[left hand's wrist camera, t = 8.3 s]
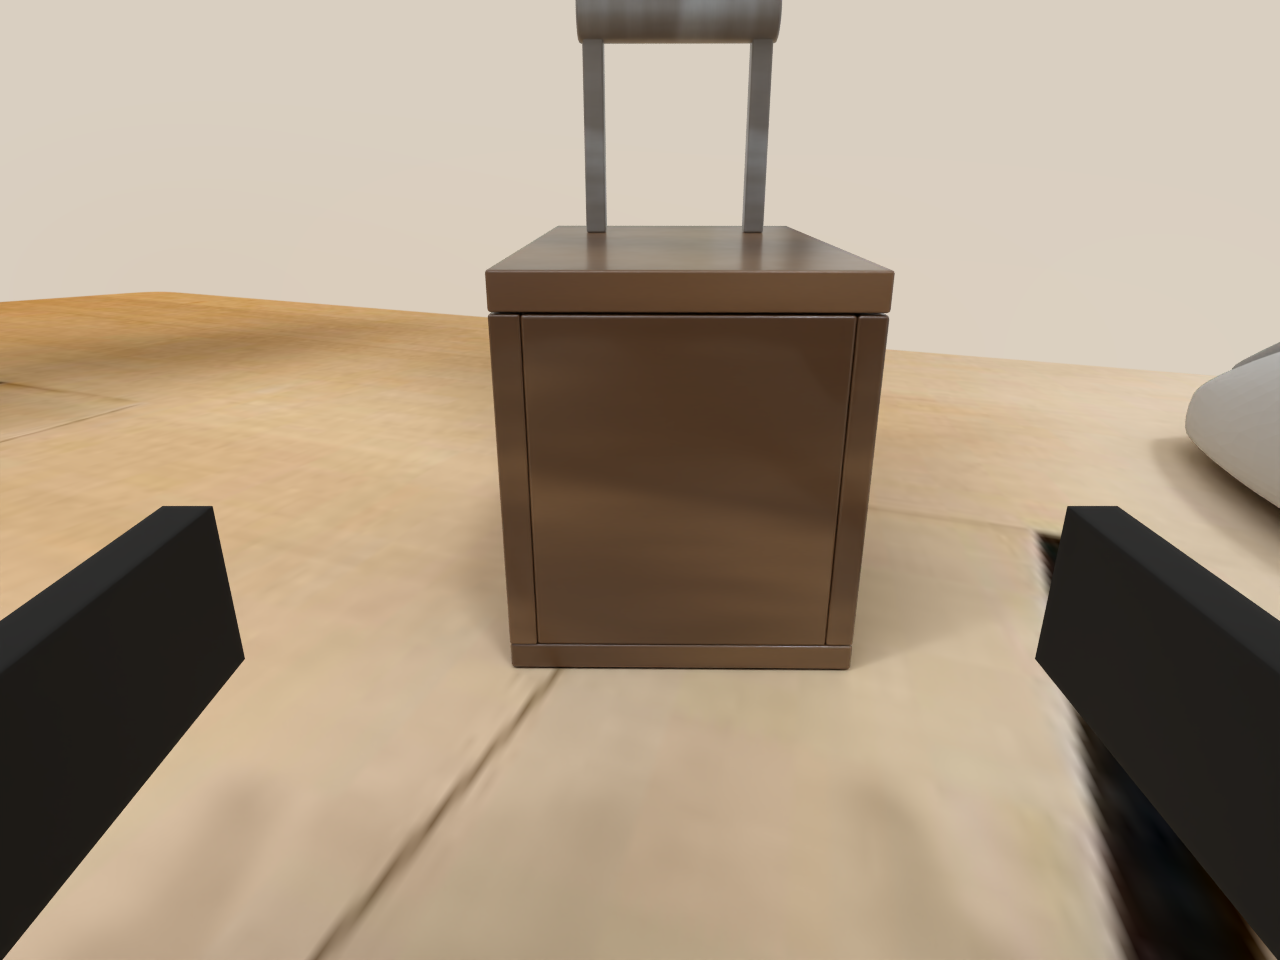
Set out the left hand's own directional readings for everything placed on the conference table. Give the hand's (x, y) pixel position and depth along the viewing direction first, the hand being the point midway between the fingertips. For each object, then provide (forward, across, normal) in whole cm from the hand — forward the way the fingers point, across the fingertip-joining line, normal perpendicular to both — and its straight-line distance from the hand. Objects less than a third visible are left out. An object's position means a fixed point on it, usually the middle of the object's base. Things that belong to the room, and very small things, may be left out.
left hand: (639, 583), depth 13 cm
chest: (+15, +1, -7) cm, 16 cm away
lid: (+15, +1, +3) cm, 16 cm away
